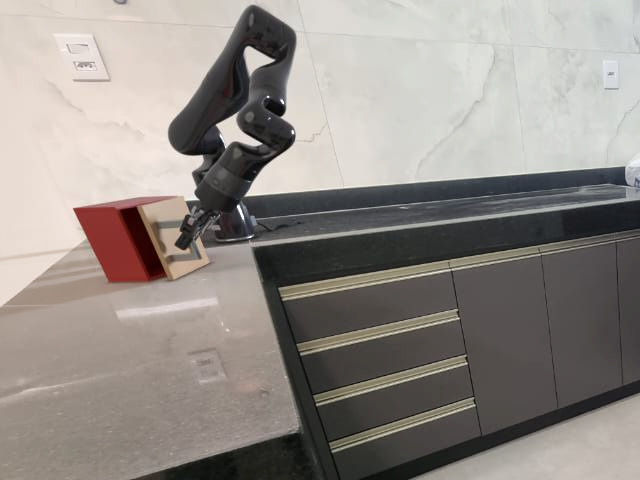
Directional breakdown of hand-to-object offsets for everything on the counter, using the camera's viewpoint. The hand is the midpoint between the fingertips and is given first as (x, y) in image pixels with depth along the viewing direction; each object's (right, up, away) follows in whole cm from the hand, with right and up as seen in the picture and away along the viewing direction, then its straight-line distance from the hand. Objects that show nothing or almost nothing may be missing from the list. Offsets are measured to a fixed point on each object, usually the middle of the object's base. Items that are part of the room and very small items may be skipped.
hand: (182, 246), depth 119 cm
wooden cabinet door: (-1, -4, +8) cm, 9 cm away
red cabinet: (-12, -5, +8) cm, 15 cm away
